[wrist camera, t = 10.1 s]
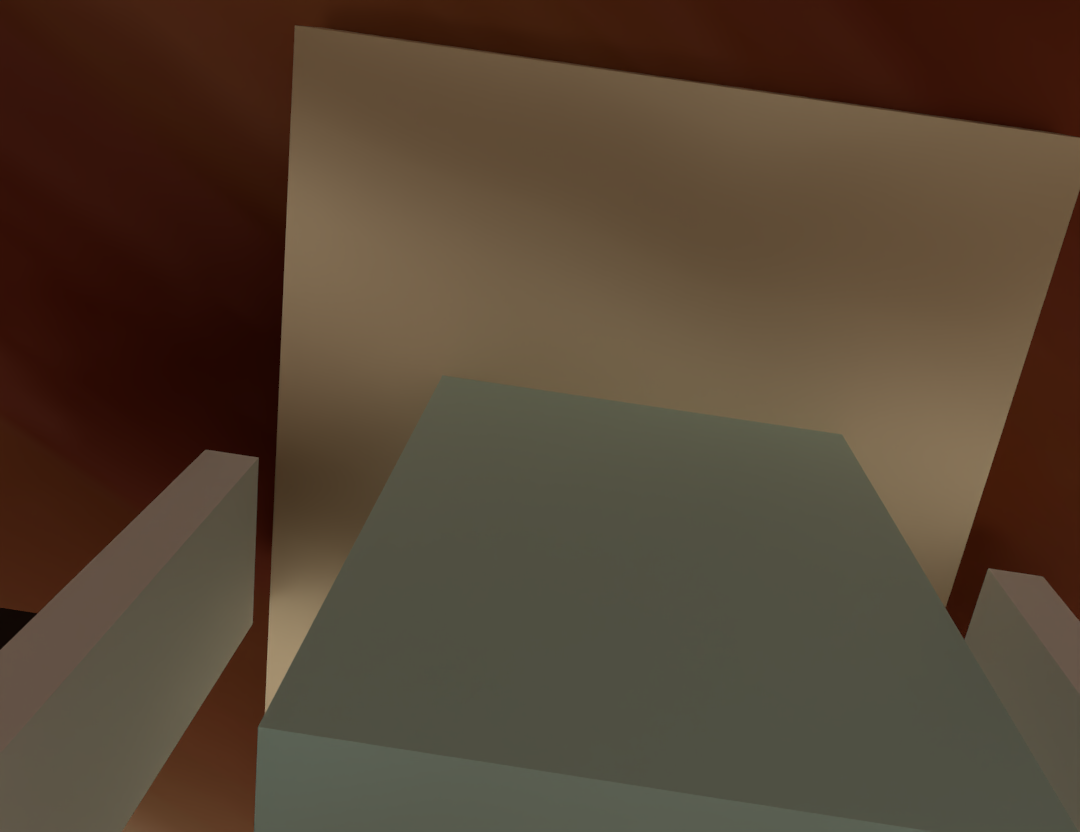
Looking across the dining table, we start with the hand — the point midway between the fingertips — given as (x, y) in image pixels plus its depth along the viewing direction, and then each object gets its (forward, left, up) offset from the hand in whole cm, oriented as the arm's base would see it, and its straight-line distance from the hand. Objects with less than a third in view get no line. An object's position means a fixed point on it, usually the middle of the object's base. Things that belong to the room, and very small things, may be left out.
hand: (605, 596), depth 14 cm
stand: (0, 0, -2) cm, 2 cm away
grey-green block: (0, 0, -1) cm, 1 cm away
